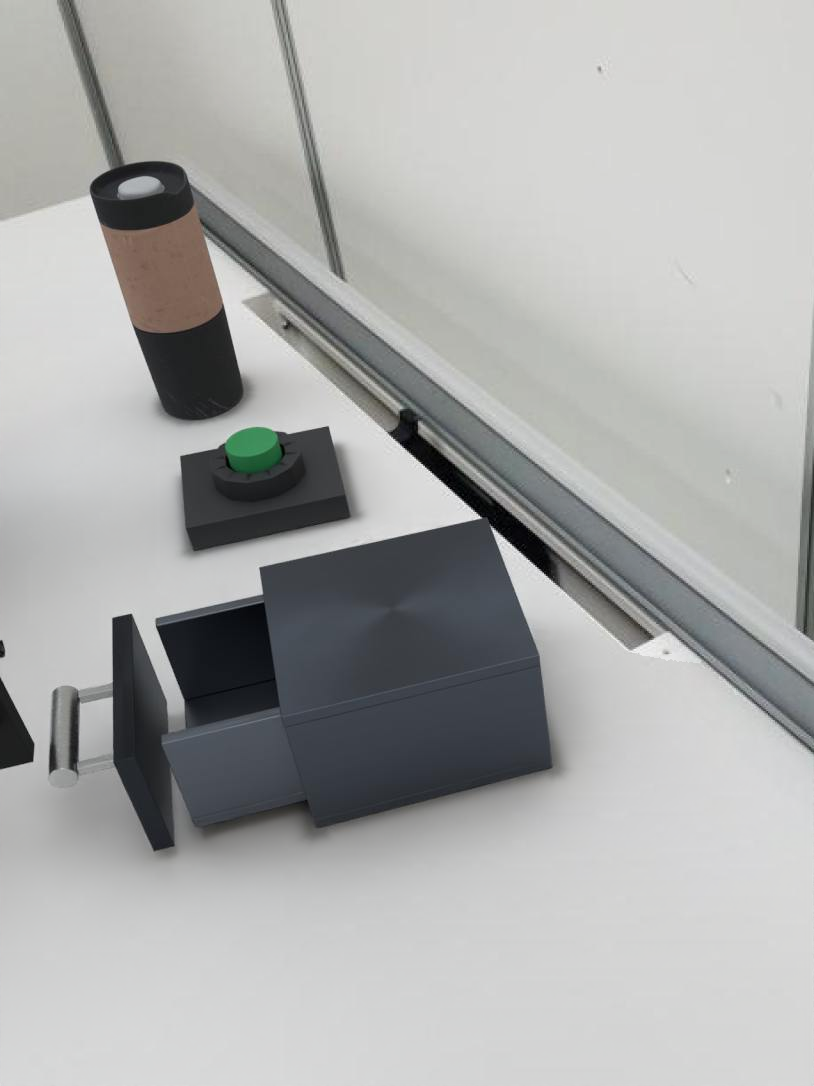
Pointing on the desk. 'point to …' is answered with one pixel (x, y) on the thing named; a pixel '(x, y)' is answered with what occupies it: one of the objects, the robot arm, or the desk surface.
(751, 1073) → the desk surface
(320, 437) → the panel
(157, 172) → the travel mug
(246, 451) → the button
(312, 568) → the cabinet
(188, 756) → the drawer
